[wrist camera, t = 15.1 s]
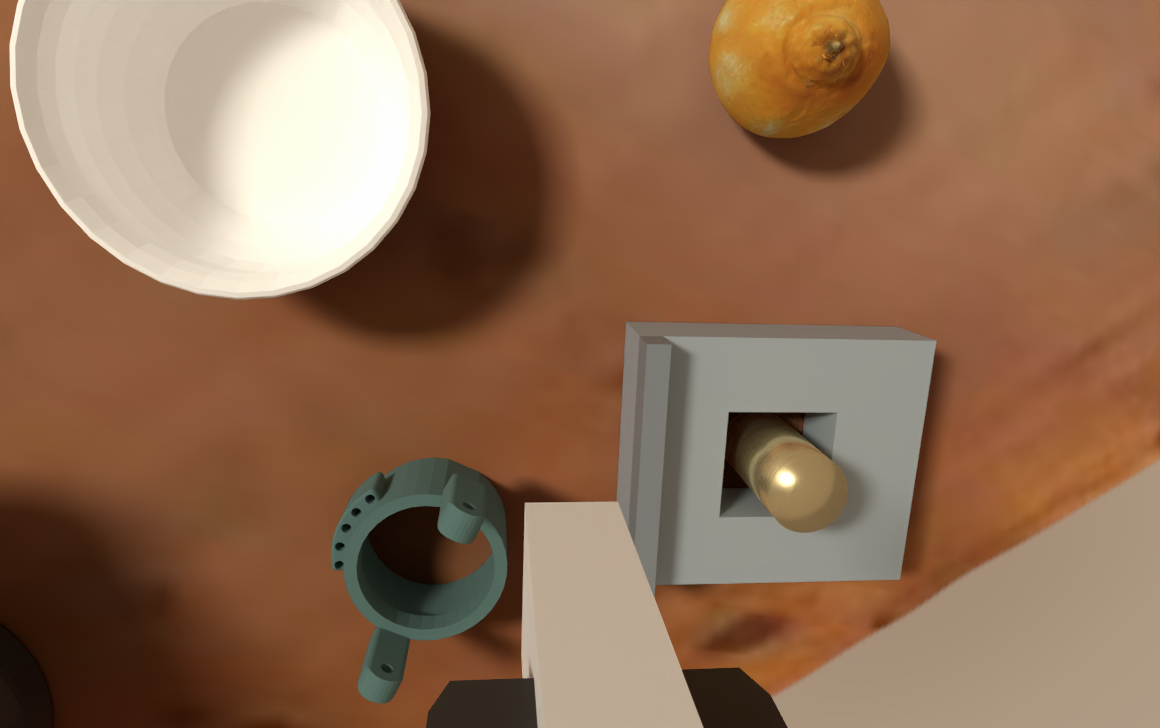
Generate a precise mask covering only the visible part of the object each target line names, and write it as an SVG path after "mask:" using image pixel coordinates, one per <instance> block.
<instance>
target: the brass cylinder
mask: <svg viewBox="0 0 1160 728" xmlns="http://www.w3.org/2000/svg"><path fill="white" fill-rule="evenodd" d="M725 458H726V460H727V461H728V462H729V464H730V465H731V466H732V467H733V468H734V470H735V471H736V472H737V473H738V474H739V476H740V477H741V478H742V479H743V481H744V482H745V483H746V484H747V485H748V487H749V488H750V489H751V490H752V491H753V493H754V494H755V495H756V496H757V497H758V499H759V500H760V501H761V502H762V503H763V505H764V506H765V507H766V508H767V509H768V511H769V512H770V513H771V514H772V515H773V517H774V518H775V519H776V520H777V521H778V523H779V524H781V525H782V526H783V527H785V528H786V529H788V530H791V531H794V532H799V533H810V532H815V531H818V530H821V529H823V528H825V527H826V526H828V525H830V524H831V523H832V522H833V521H834V520H835V519H836V518H837V517H838V516H839V515H840V514H841V512H842V511H843V509H844V507H845V505H846V502H847V498H848V483H847V479H846V476H845V474H844V473H843V471H842V470H841V468H840V467H839V466H838V465H836V464H835V463H834V462H833V461H832V460H830V459H829V458H828V457H827V456H826V455H824V454H823V453H822V452H821V451H820V450H818V449H817V448H816V447H815V446H814V445H812V444H811V443H810V442H809V441H808V440H806V439H805V438H804V437H803V436H801V435H800V434H799V433H798V432H797V431H795V430H794V429H793V428H792V427H791V426H789V425H788V424H787V423H786V422H785V421H783V420H782V419H781V418H780V417H778V416H777V415H776V414H775V413H773V412H741V413H739V414H737V415H736V416H735V417H733V418H732V419H731V420H730V421H729V423H728V425H727V436H726V448H725Z"/></svg>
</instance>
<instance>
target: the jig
mask: <svg viewBox="0 0 1160 728" xmlns="http://www.w3.org/2000/svg"><path fill="white" fill-rule="evenodd" d="M935 347H936V341H935V340H933V339H930V338H927V337H924V336H921V335H919V334H916V333H913V332H910V331H907V330H905V329H902V328H899V327H882V326H828V325H775V324H722V323H669V322H626V334H625V352H624V371H623V390H622V408H621V427H620V446H619V464H618V483H617V502H618V503H619V506H620V509H621V511H622V514H623V517H624V519H625V522H626V525H627V527H628V530H629V533H630V535H631V538H632V540H633V543H634V546H635V548H636V551H637V554H638V556H639V559H640V562H641V564H642V567H643V569H644V572H645V575H646V577H647V580H648V583H649V585H650V588H651V591H652V593H653V596H654V594H655V585H680V584H725V583H770V582H815V581H860V580H900V575H901V569H902V562H903V556H904V549H905V543H906V536H907V530H908V523H909V516H910V510H911V503H912V497H913V490H914V484H915V477H916V471H917V464H918V458H919V451H920V445H921V438H922V432H923V425H924V419H925V412H926V405H927V399H928V392H929V386H930V379H931V373H932V366H933V360H934V353H935ZM729 412H805V417H804V426H803V434H802V436H803V437H804V438H805V439H806V440H808V441H809V442H810V443H811V444H812V445H814V446H815V447H816V448H817V449H818V450H820V451H821V452H822V453H823V454H824V455H826V456H827V457H828V458H829V459H830V460H832V461H833V462H834V463H835V464H836V465H838V466H839V467H840V468H841V470H842V471H843V473H844V474H845V476H846V479H847V483H848V498H847V502H846V505H845V507H844V509H843V511H842V512H841V514H840V515H839V516H838V517H837V518H836V519H835V520H834V521H833V522H832V523H831V524H830V525H828V526H826V527H825V528H823V529H821V530H818V531H815V532H810V533H799V532H794V531H791V530H788V529H786V528H785V527H783V526H782V525H781V524H779V523H778V521H777V520H776V519H775V518H774V517H773V515H772V514H771V513H770V512H769V511H768V509H767V508H766V507H765V506H764V505H763V503H762V502H761V501H760V500H759V499H758V497H757V496H756V495H755V494H754V493H753V491H752V490H751V489H750V488H722V481H723V470H724V459H725V448H726V436H727V425H728V414H729Z"/></svg>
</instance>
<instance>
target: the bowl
mask: <svg viewBox="0 0 1160 728" xmlns="http://www.w3.org/2000/svg"><path fill="white" fill-rule="evenodd" d="M10 88H11V92H12V97H13V101H14V106H15V110H16V115H17V120H18V124H19V129H20V131H21V134H22V136H23V138H24V141H25V143H26V146H27V148H28V150H29V153H30V155H31V157H32V160H33V162H34V164H35V167H36V169H37V171H38V172H39V174H40V175H41V177H42V178H43V180H44V181H45V183H46V184H47V186H48V187H49V189H50V191H51V192H52V194H53V195H54V197H55V198H56V200H57V201H58V203H59V204H60V206H61V207H62V208H63V209H64V210H65V211H66V212H67V213H68V214H69V216H70V217H71V218H72V219H73V220H74V221H75V222H76V223H77V224H78V225H79V226H80V227H81V228H82V229H83V230H84V232H85V233H86V234H87V235H88V236H89V237H90V238H91V239H92V240H94V241H95V242H96V243H98V244H99V245H100V246H102V247H103V248H104V249H106V250H107V251H108V252H110V253H111V254H112V255H114V256H115V257H116V258H118V259H119V260H120V261H122V262H123V263H124V264H126V265H128V266H130V267H132V268H134V269H136V270H138V271H140V272H141V273H143V274H145V275H147V276H149V277H151V278H153V279H155V280H157V281H159V282H161V283H164V284H167V285H170V286H173V287H176V288H180V289H183V290H186V291H189V292H192V293H196V294H199V295H206V296H214V297H222V298H230V299H238V300H241V299H257V298H273V297H280V296H284V295H287V294H291V293H295V292H299V291H303V290H307V289H310V288H314V287H316V286H318V285H320V284H322V283H324V282H326V281H328V280H330V279H332V278H334V277H336V276H338V275H340V274H342V273H344V272H346V271H347V270H349V269H350V268H351V267H352V266H354V265H355V264H356V263H358V262H359V261H360V260H362V259H363V258H364V257H365V256H367V255H368V254H369V253H371V252H372V251H373V250H374V249H375V248H376V247H377V246H378V245H379V243H380V242H381V241H382V240H383V239H384V238H385V236H386V235H387V234H388V233H389V232H390V231H391V229H392V228H393V227H394V226H395V225H396V223H397V222H398V221H399V219H400V217H401V215H402V213H403V212H404V210H405V208H406V206H407V204H408V202H409V200H410V199H411V197H412V195H413V193H414V191H415V189H416V186H417V183H418V180H419V176H420V173H421V170H422V167H423V163H424V160H425V157H426V153H427V145H428V135H429V124H430V114H431V113H430V102H429V91H428V81H427V72H426V69H425V65H424V62H423V58H422V54H421V51H420V47H419V44H418V40H417V37H416V33H415V31H414V29H413V27H412V25H411V23H410V21H409V19H408V17H407V15H406V13H405V11H404V9H403V7H402V5H401V3H400V0H19V1H18V4H17V9H16V14H15V19H14V25H13V30H12V35H11V40H10Z"/></svg>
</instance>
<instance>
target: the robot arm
mask: <svg viewBox="0 0 1160 728" xmlns="http://www.w3.org/2000/svg"><path fill="white" fill-rule="evenodd" d="M521 657H522V676H523V678H520V679H492V680H465V681H450V682H449V683H448V685H447V686H446V687H445V689H444V690H443V692H442V693H441V695H440V696H439V697H438V699H437V700H436V702H435V703H434V704H433V706H432V707H431V709H430V710H429V712H428V717H427V725H426V728H787V726H786V724H785V722H784V720H783V718H782V716H781V715H780V712H779V711H778V709H777V707H776V705H775V703H774V701H773V699H772V697H771V696H770V694H769V693H767V692H766V691H765V690H764V689H763V688H762V687H761V686H759V685H758V684H757V683H756V682H755V681H754V680H753V679H751V678H750V677H749V676H748V675H747V674H746V673H745V672H743V671H742V670H741V669H740V668H716V669H688V670H681V667H680V665H679V662H678V659H677V657H676V654H675V651H674V649H673V646H672V643H671V641H670V638H669V635H668V633H667V630H666V628H665V625H664V622H663V620H662V617H661V614H660V612H659V609H658V606H657V604H656V601H655V599H654V596H653V593H652V591H651V588H650V585H649V583H648V580H647V577H646V575H645V572H644V569H643V567H642V564H641V562H640V559H639V556H638V554H637V551H636V548H635V546H634V543H633V540H632V538H631V535H630V533H629V530H628V527H627V525H626V522H625V519H624V517H623V514H622V511H621V509H620V506H619V503H618V502H538V503H525V515H524V560H523V604H522V648H521ZM0 728H52V704H51V699H50V694H49V691H48V687H47V685H46V682H45V680H44V677H43V675H42V673H41V671H40V669H39V668H38V666H37V664H36V663H35V661H34V660H33V658H32V657H31V655H30V654H29V653H28V652H27V650H26V649H25V648H24V647H23V646H22V645H21V644H20V643H19V641H18V640H17V639H16V638H14V637H13V636H12V635H11V634H10V633H9V632H8V631H7V630H5V629H4V628H3V627H2V626H0Z"/></svg>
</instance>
